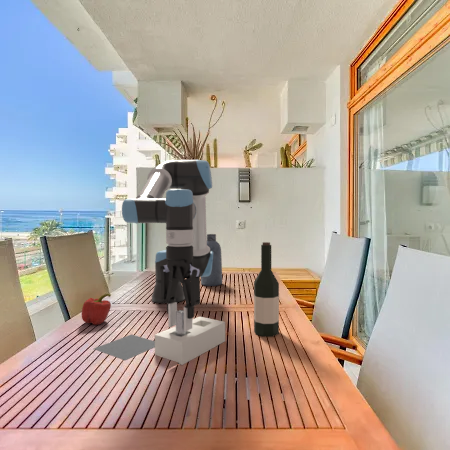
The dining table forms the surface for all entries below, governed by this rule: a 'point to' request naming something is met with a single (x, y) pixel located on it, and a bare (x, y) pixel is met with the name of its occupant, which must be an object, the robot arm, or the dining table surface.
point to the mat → (127, 347)
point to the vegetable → (96, 310)
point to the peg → (180, 323)
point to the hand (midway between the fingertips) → (180, 327)
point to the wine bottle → (266, 297)
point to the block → (190, 340)
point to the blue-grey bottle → (214, 263)
